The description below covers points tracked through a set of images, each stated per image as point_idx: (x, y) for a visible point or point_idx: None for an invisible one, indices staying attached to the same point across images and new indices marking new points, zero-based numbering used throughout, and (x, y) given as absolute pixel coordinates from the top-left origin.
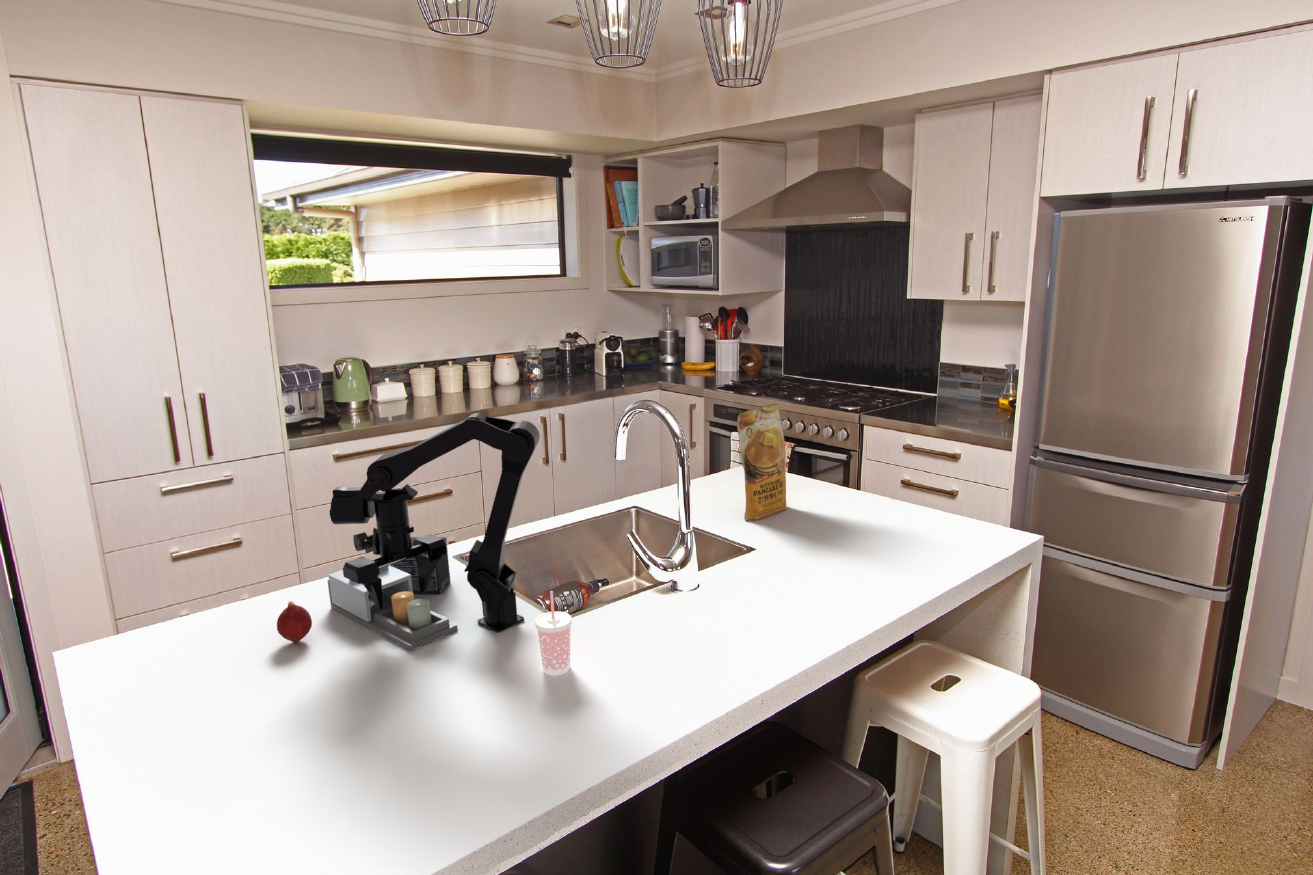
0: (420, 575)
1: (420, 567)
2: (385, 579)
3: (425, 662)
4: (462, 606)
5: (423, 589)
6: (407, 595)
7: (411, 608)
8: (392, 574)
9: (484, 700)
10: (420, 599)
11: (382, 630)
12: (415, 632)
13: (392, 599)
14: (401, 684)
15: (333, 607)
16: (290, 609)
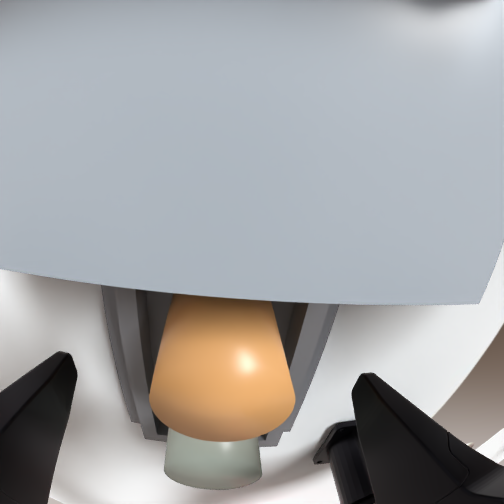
0: (403, 457)
1: (428, 500)
2: (311, 158)
3: (137, 445)
4: (419, 330)
5: (354, 410)
6: (243, 421)
7: (169, 475)
8: (456, 121)
9: (153, 501)
10: (247, 465)
11: (106, 299)
12: (155, 438)
13: (149, 396)
14: (75, 444)
15: None
16: None
